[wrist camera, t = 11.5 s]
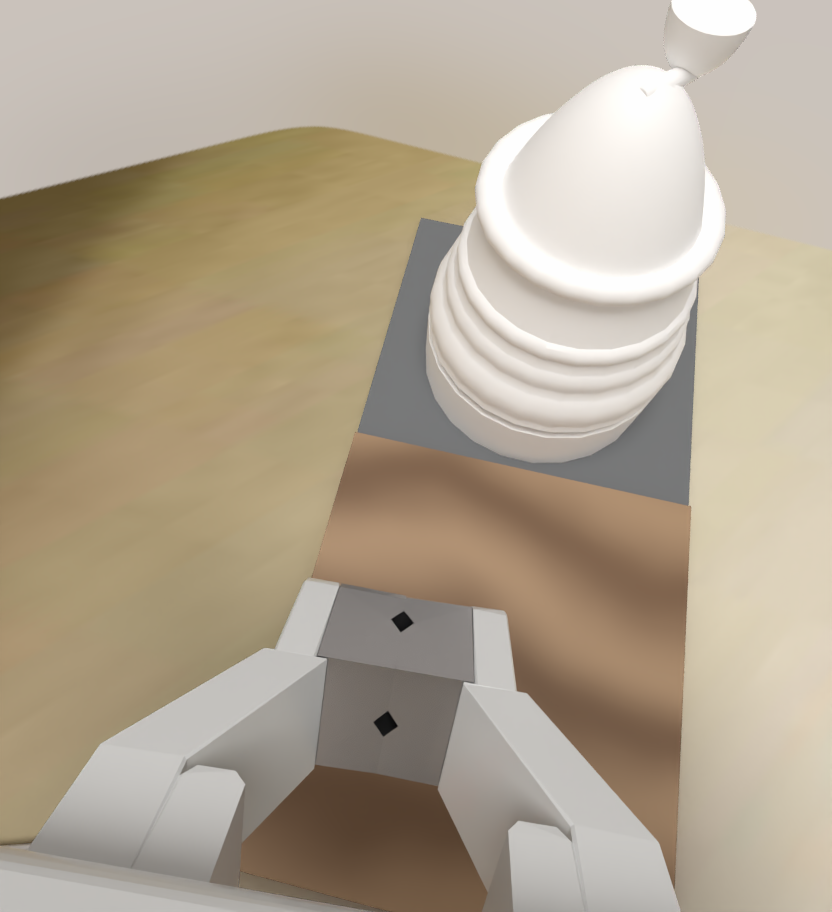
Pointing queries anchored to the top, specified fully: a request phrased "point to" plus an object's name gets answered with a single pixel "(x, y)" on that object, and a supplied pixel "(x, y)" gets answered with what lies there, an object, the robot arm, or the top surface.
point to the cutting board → (533, 650)
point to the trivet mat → (425, 424)
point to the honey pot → (584, 256)
